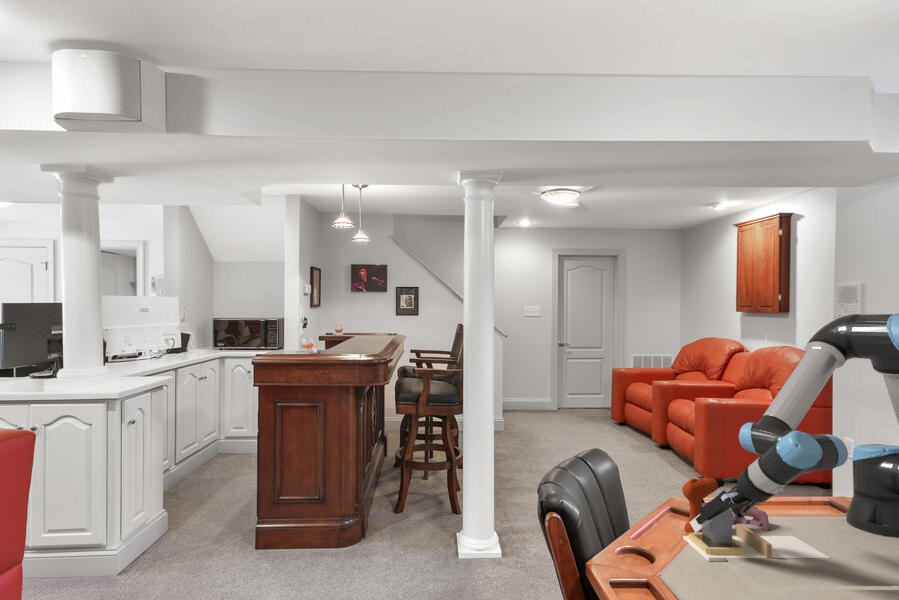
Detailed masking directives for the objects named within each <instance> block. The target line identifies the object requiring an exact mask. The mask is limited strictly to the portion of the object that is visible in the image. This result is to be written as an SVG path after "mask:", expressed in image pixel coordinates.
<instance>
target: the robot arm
mask: <svg viewBox="0 0 899 600" xmlns="http://www.w3.org/2000/svg"><path fill="white" fill-rule="evenodd" d="M851 359H866V360H868V359H869V360H870V362H871V366H872V369H873V370H874V371H875V372H876V373H878V374H881V375H882V377H883V379H884V383H885V387H886V389H887V393H888V395H889V396H888V397H889V399H890V402H891V405H892V408H893V412H894V414H895V418H896V420H897V424H898V425H899V312H898V313H894V314H893V313H892V314H887V313H886V314H885V313H883V314H882V313H881V314H878V313H877V314H873V313H872V314H871V313H870V314H860V313H855V314H847V315H843V316H840V317H838V318H835V319H834V320H832V321H829V323H827V324H825V325H824V326H822V327H821V328H820V329H819V330H818V331H816V332H815V333H814V335H812V337H811V338H810V339H809V340H808V342H807V343H806V345H805V347H804V356H802V358H801V360H800V361H798V362H799V363H798V364H797V365H796V367H795V368H794V370H793V371H792V372H791V374H790V376H788V378H787V380H786V381H785V383H784V385H782V387H781V389H780V390H779V391H778V393H777V395H776V396H775V397H774V398H773V400H772V402H771V403H770V404H769V406H768V408H767V409H766V410H765V412H763V413H764V414H763V415H762V416H761V418H760V419H759V421H758V422H755V421H754V422H747V423H744V424H743V425H742V426H741V427H740V429H739V434H738V440H739V443H740V445H741V447H742V448H743V449H744V450H745V451H747V452H749V453H752V454H756V455H758V456H759V457H758V458H757V459H756V460H754V461H753V462H752V463H750V464H749V466H748V467H746V468H745V469H744V470H742V471H741V472H740V473H739V474H738V476H737V477H736V483H737V485H735V486H733V487H732V488H731V489H730V490H729V491H727V492H726V490H722V491H721V492H720V493H718V495H716V496H715V497H714V498H712V499H711V500H710V501H709V502H706V503H707V504H706V505H704V506H703V507H701V508H700V509H699V510H698V511H699V513H700V514H699V515H698V516H697V517H695V518H694V519H693V520H692V521H691V522H690V524H691V526H692V528H693V529H694V531H695V532H694V533H700V532H699V531H700V530H701V529H702V528H704V527H705V526H706V525H707V524H709V523H710V522H711V521H712V518H714V517H716V516H718V515H719V514H721V513H723V512H724V511H726V510H728V509H729V508H730V509H731V510H732V519H733V518H735V517H736V515H737V516H738V518H742V517H743V516H742V514H741V513H742V512H743V513H747V512H748V511H749V510H750V509H751V508H752V507H756V505H757V504H758V503H760V504H761V503H765V502H767V501H769V499H771V498H772V497H773V496H775V494H777V493H779V491H780V493H781V492H784V491H785V489H784V488H785V487H786V486H788V485H789V484H790V483H792V482H793V481H794V480H796V479H797V478H798V477H800V476H801V475H804V474H809V473H815V472H818V471H819V472H820V471H825V470H833V469H836V468H837V467H842V466H843V465H845V464H846V462H847V460H848V458H849V457H848V456H849V452H848V448H847V445H846V444H845V442H844V441H842V439H841V438H839V437H838V436H836V435H833V434H829V433H827V434H826V433H825V434H824V433H820V434H811V433H807V432H802V431H801V430H796V429H797V428H798V426H799V425H800V424H801V422H802V420H803V419H804V417H805V416H806V414H807V413H808V411H809V410H810V408H811V406H812V405H813V403H814V402H815V400H816V399H817V398H818V396H819V395H820V393H821V391H822V390H823V389H824V388H825V386H826V384H827V382H828V381H829V380H830V378H831V376H832V375H833V373H834V372H835V370H836V369H840V368H842V367H843V366H844V365H845V364H846V362H847V361H849V360H851ZM851 461H852V483H853V484H852V485H853V487H852V488H853V492H852V493H853V494H852V495H853V496H852V498H851V501H850V504H849V506H848V509H847V511H846V513H845V514H846V516H845V517H846V520H845V521H846V522H847V524H850V525H851V526H853V527H854V528H856V529H859V530H862V531H865V532H868V533H873V534H877V535H881V536H888V537H893V536H894V537H896V538H899V445H895V444H881V443H880V444H874V443H872V444H871V443H870V444H859V445H855V447H854V448H853V450H852V459H851Z"/></svg>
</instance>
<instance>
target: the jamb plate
mask: <svg viewBox="0 0 899 600" xmlns="http://www.w3.org/2000/svg"><path fill="white" fill-rule="evenodd" d="M735 531H736V533H735V535H732V547H708V546H707V545H706V544H704V543H703V542H702V532H697V533H695V532H693V533H690V534H689V533H688V535H683V536H682V539H683V540H684V541H685V540H686V541H687V542H688V543H689V544H688V543H687V542H686V541H685V542H686V543H687V544H688V545H690V546H691V547H692V548H693V549H694V550H695V551H696V552H698V553H699V554H700V555H701V556H702V557H703V558H704V559H705V560H707V561H708V562H729V560H728V559H830V557H829V556H828V555H826V554H825V553H823V552H821V551H819V550H818V549H816V548H814V547H813V546H811V545H809V544H807V543H806V542H804V541H803V540H801V539H799V538H797V536H794V535H758V534H757V533H756V532H754V531H753V530H751V529H749V528H747V527H746V526H745V525H744V524H742V523H736V525H735Z"/></svg>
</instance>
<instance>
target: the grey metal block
mask: <svg viewBox="0 0 899 600" xmlns="http://www.w3.org/2000/svg"><path fill="white" fill-rule="evenodd" d="M707 503H708V502H705V503H702V507H703V506H704V505H706V504H707ZM701 533H702V542H703V543H704V544H706V545H707V546H708V547H732V536H733V525H732V510H731V509H730V508H729V509H728V510H726V511H724V512H723V513H721V514H719V515H718V516H716V517H714V518H712V521H711V522H710V523H709V524H707V525H706V526H705V527H704V528H702V532H701Z"/></svg>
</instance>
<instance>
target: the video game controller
mask: <svg viewBox="0 0 899 600" xmlns="http://www.w3.org/2000/svg"><path fill="white" fill-rule="evenodd" d="M741 514H742V516H743V517H742V518H738V516H737V515H736V517H735V518H733V519H732V526H733V525H734V524H735V523H736V521H737V522H738V523H737V524H742V525H747V524H748V521H747V518H746V517H750V518H751V520H750V525H751V526H754V527H760V526H761V525H762V526H761V527H762V530H763V531H764V532H768V531H769V525H770V524H769V523H770V522H769V516H768V514H767V513H766V512H765V510H763V509H762V508H759V507H756V506H754V507H752V508H751V509H750V510H749V511H748V512H747V513H743V512H742V513H741Z"/></svg>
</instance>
